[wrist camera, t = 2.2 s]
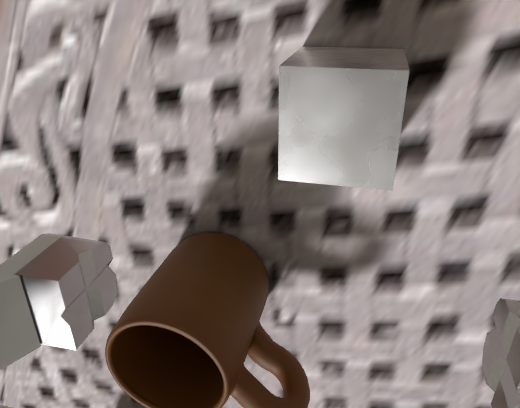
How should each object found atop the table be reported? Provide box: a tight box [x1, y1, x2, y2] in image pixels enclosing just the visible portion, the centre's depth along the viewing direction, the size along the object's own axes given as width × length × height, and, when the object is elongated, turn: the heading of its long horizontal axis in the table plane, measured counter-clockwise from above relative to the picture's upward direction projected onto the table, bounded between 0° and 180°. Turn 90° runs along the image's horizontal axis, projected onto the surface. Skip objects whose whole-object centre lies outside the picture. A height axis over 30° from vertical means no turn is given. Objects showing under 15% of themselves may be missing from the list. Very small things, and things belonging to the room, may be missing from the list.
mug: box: [105, 232, 310, 408], centre depth 28 cm, size 12×8×9 cm, turn 68°
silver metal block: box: [278, 46, 409, 191], centre depth 22 cm, size 5×5×6 cm
